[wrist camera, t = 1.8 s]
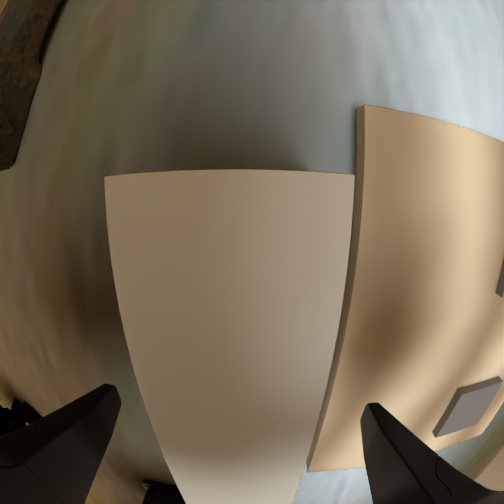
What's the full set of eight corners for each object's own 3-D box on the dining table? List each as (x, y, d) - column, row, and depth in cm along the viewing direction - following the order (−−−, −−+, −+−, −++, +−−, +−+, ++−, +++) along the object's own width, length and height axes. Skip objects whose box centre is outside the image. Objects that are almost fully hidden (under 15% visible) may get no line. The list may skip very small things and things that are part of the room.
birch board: (306, 460, 15) (307, 472, 14) (356, 110, 9) (364, 104, 8) (477, 426, 14) (481, 433, 13) (559, 173, 8) (570, 175, 7)
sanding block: (210, 435, 15) (192, 515, 9) (189, 170, 10) (104, 176, 5) (283, 439, 14) (284, 522, 9) (308, 171, 10) (354, 174, 4)
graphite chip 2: (432, 431, 13) (435, 438, 12) (457, 388, 11) (461, 394, 11) (474, 418, 12) (477, 423, 12) (498, 376, 11) (503, 381, 11)
